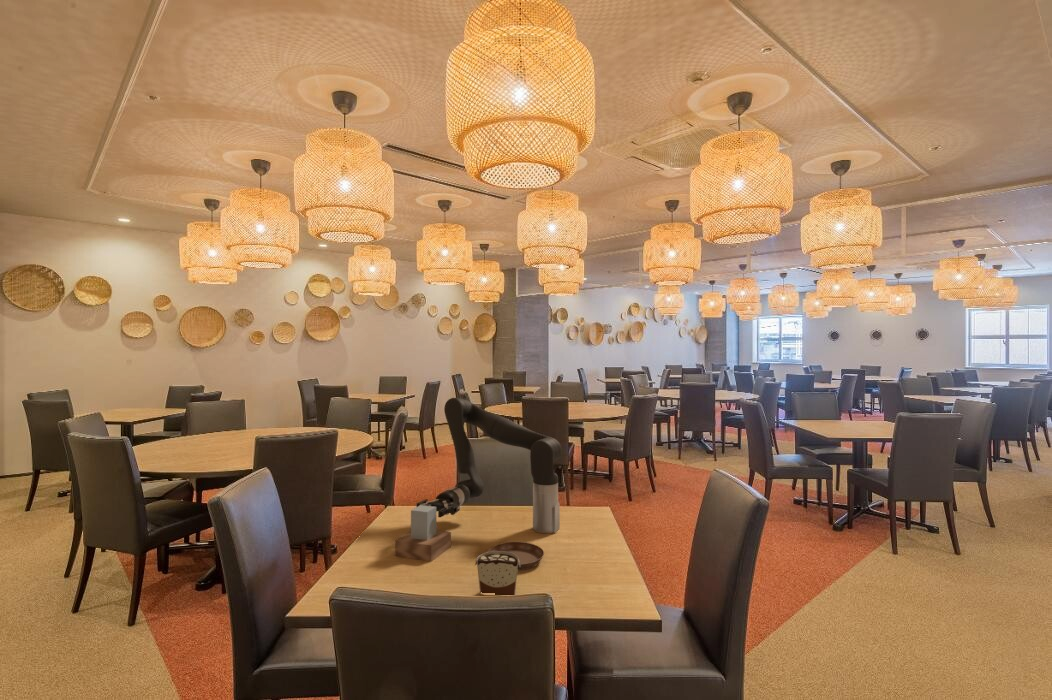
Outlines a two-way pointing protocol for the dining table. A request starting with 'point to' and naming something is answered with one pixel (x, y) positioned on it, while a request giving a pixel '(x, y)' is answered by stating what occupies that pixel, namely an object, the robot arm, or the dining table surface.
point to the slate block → (423, 522)
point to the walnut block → (423, 546)
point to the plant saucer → (522, 553)
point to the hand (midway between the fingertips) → (427, 513)
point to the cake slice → (497, 572)
